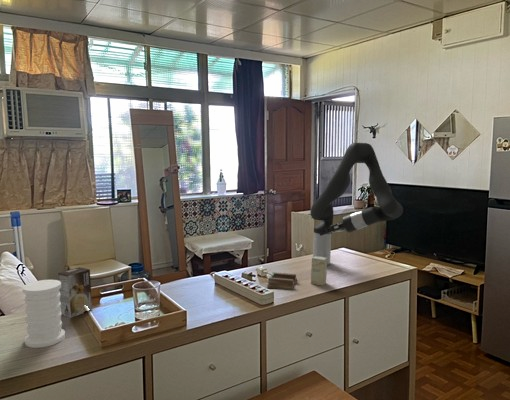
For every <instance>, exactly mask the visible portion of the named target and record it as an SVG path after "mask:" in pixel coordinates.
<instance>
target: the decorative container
mask: <svg viewBox="0 0 510 400" xmlns="http://www.w3.org/2000/svg"><path fill="white" fill-rule="evenodd" d="M21 288H22V294H24V295H25V296H24V304H25V305H26V306H25V308H24V312H25V314H26V316H25V317H26V318H25V322H26V324H27V326H26V328H25V329H26V332H27V335H25V337H24V346H26V347H28V348H32V349H35V348H36V349H38V348H47V347H50V346H53V345H56V344H59V343H60V342H62V341H63V340H64V339H65V338H66V330H65V329H63V328H62V327H63V321H62V315H61V314H62V313H61V303H60V291H59V289H60V288H61V282H60V281H59V279H41V280H36V281H35V280H34V281H31V282H29V283H26V284H25V285H23V286H22V287H21Z"/></svg>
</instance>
